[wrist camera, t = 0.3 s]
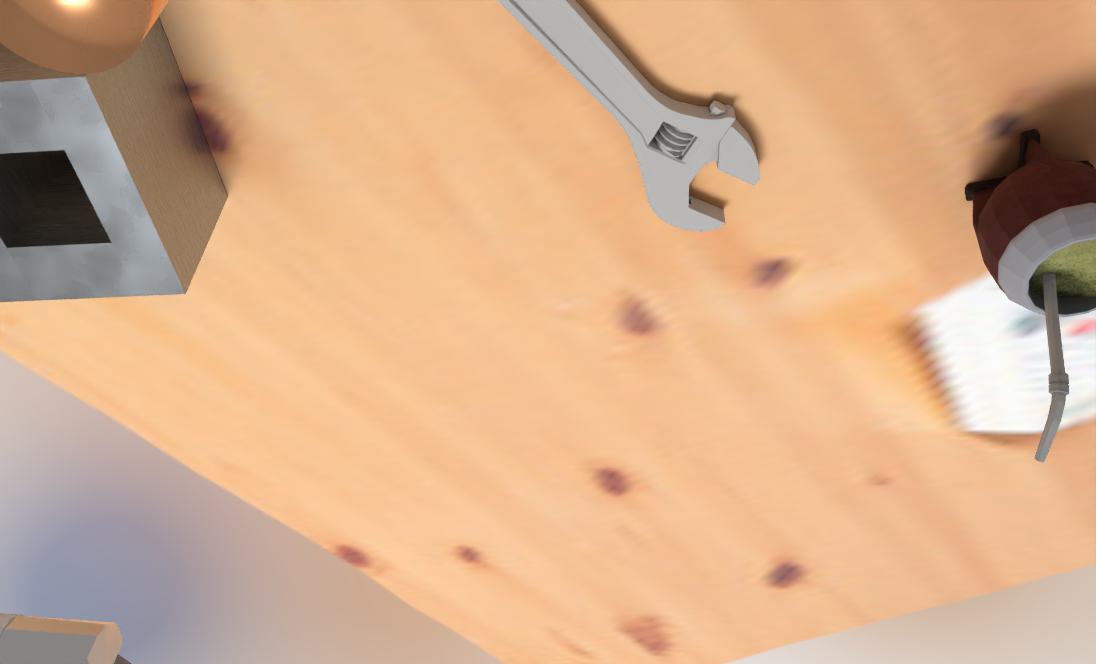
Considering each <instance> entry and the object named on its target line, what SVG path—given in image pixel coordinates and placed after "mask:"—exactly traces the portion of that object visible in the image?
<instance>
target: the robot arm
mask: <svg viewBox="0 0 1096 664" xmlns="http://www.w3.org/2000/svg"><path fill="white" fill-rule="evenodd" d="M122 643H123V638H122V635H121V633H120V631H119V628H118V625H117V623H111V622H110V623H109V622H97V621H84V620H70V619H56V618H43V617H30V616H24V615H16V614H0V664H131V663H130V662H128V661H127V660H125V659H124V658H123V657H121V656H120V655H119V654H118V652H119V650H120V647H121V645H122Z"/></svg>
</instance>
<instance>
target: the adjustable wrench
mask: <svg viewBox="0 0 1096 664" xmlns="http://www.w3.org/2000/svg"><path fill="white" fill-rule="evenodd" d="M497 1H498V2H499V3H500V4H501V5H502V6H503V7H504V8H505V9H506V10H507V11H508V12H509V13H510V14H511V15H512V16H513V17H514V18H515V19H516V20H517V21H518V22H519V23H520V24H521V25H522V26H523V27H524V28H525V29H526V30H527V31H528V32H529V33H530V34H531V35H532V36H533V37H534V38H535V39H536V40H537V41H538V42H539V43H540V44H541V45H542V46H543V47H544V48H545V49H546V50H547V51H548V52H549V53H550V54H551V55H552V56H553V57H554V58H555V59H556V60H557V61H558V62H559V63H560V64H561V65H562V66H563V67H564V68H565V69H566V70H567V71H568V72H569V73H570V74H571V75H572V76H573V77H574V78H575V79H576V80H577V81H578V82H579V83H580V84H581V85H582V86H583V87H584V88H585V89H586V90H587V91H588V92H589V93H590V94H591V95H592V96H593V97H594V98H595V99H596V100H597V101H598V102H599V103H600V104H601V105H602V106H603V107H604V108H605V109H606V110H607V111H608V112H609V113H610V114H611V115H612V116H613V117H614V118H615V119H616V120H617V121H618V123H619V124H620V125H621V126H622V127H623V129H624V130H625V132H626V134H627V136H628V138H629V140H630V142H631V144H632V147H633V149H634V152H635V155H636V157H637V160H638V163H639V166H640V170H641V173H642V177H643V182H644V186H645V191H646V195H647V200H648V202H649V205H650V207H651V208H652V210H653V211H654V212H655V213H656V215H657V216H658V217H659V218H661V219H662V220H663V221H665V222H667V223H668V224H670V225H672V226H674V227H677V228H681V229H684V230H692V231H708V230H715V229H718V228H720V227H722V226H723V225H724V224H725V218H724V211H723V209H721V208H719V207H716V206H714V205H711V204H709V203H707V202H704V201H702V200H699V199H697V198H695V197H692V196H690V195H689V184H690V182H691V181H692V180H693V178H694V177H695V176H696V174H697V173H698V172H699V170H700V169H701V167H702V166H703V165H706V164H708V163H711V162H713V161H716V162H717V169H718V170H720V171H722V172H725V173H727V174H729V175H732V176H734V177H736V178H739V179H741V180H743V181H745V182H748V183H750V184H752V185H756V183H757V182H758V181H759V180H760V170H759V165H758V160H757V156H756V151H755V147H754V144H753V142H752V140H751V138H750V136H749V134H748V133H747V131H746V130H745V129H744V128H743V126H742V125H741V124H740V123H739V122H738V121H737V120H736V117H735V112H734V107H733V106H731V105H727V104H726V105H723V104H722V103H720V102H719V101H715V100H714V101H713V102H712V104H711V105H710V107H703V106H698V105H693V104H689V103H684V102H680V101H677V100H674V99H672V98H669V97H667V96H666V95H664V94H663V93H661V92H660V91H658V90H657V89H656V88H655V87H653V86H652V85H651V84H650V83H649V82H648V81H647V80H646V79H645V78H644V77H643V75H642V74H641V73H640V72H639V71H638V70H637V69H636V68H635V66H634V65H633V64H632V63H631V62H630V61H629V60H628V59H627V57H626V56H625V55H624V54H623V53H622V52H621V51H620V50H619V48H618V47H617V46H616V45H615V44H614V43H613V42H612V41H611V39H610V38H609V37H608V36H607V35H606V34H605V33H604V32H603V30H602V29H601V28H600V27H599V26H598V25H597V24H596V23H595V21H594V20H593V19H592V18H591V17H590V16H589V15H588V14H587V12H586V11H585V10H584V9H583V8H582V7H581V6H580V5H579V3H578V2H577V1H576V0H497ZM662 123H663V125H661V124H662ZM658 130H659V131H658ZM654 135H655V137H654Z"/></svg>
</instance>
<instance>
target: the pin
mask: <svg viewBox="0 0 1096 664" xmlns="http://www.w3.org/2000/svg"><path fill="white" fill-rule="evenodd" d="M168 2H169V0H0V43H1V44H2V45H4V46H5V47H7V48H8V49H10V50H11V51H13V52H14V53H16V54H17V55H19V56H21V57H23V58H25V59H26V60H28V61H31V62H33V63H35V64H38V65H40V66H43V67H46V68H49V69H52V70H56V71H60V72H65V73H74V74H91V73H99V72H103V71H106V70H110V69H112V68H114V67H116V66H118V65H120V64H122V63H123V62H125V61H126V60H127V59H128V58H129V57H130V56H131V55H132V54H133V53H134V52H135V51H136V49H137V48H138V47H139V45H140V44H141V42H142V41H143V39H144V38H145V36H146V35H147V33H148V32H149V30H150V29H151V27H152V26H153V24H154V23H155V21H156V20H157V18H158V17H159V15H160V14H161V12H162V11H163V9H164V8H165V6H166V5H167V3H168Z"/></svg>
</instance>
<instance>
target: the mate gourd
mask: <svg viewBox="0 0 1096 664" xmlns="http://www.w3.org/2000/svg"><path fill="white" fill-rule="evenodd" d="M965 195H966V200H967V201H971V200H973V226H974V229H975V233H976V236H977V239H978V243H979V246H980V250H981V254H982V257H983V261H984V263H985V265H986V267H987V269H988V270H989V272H990V274H991V275H992V277H993V278H994V280H995V281H996V283H997V284H998V286H999V288H1000V289H1001V290H1002V291H1003V292H1004V293H1005V294H1006V295H1007V297H1008V299H1010V300H1011V301H1013V302H1015V303H1017V304H1019V305H1021V306H1023V307H1025V308H1027V309H1029V310H1031V311H1034V312H1036V313H1039V314H1043V315H1045V316H1046V326H1047V336H1048V346H1049V355H1050V365H1051V374H1050V375H1049V384H1050V385H1049V393H1051V394H1052V401H1051V406H1050V410H1049V415H1048V419H1047V422H1046V425H1045V428H1044V431H1043V434H1042V437H1041V440H1040V443H1039V446H1038V449H1037V452H1036V455H1035V459H1036V460H1037V461H1040V462H1044V461H1045V458H1046V456H1047V454H1048V451H1049V449H1050V446H1051V444H1052V442H1053V439H1054V437H1055V434H1056V432H1057V429H1058V427H1059V424H1060V422H1061V418H1062V414H1063V410H1064V406H1065V399H1066V395H1068V394H1069V385H1068V384H1069V379H1068V374H1066V373H1065V368H1064V360H1063V351H1062V342H1061V333H1060V324H1059V317H1068V316H1074V315H1079V314H1085V313H1089V312H1091V311H1093V310H1096V169H1094V167H1093V165H1092V164H1090V163H1089V161H1082V162H1073V161H1066V160H1059V159H1054V158H1053V157H1052V156H1051V155H1050V154H1049V153H1048V152H1047V151H1046V150H1045V149H1044V148H1043V147H1042V146H1041V145H1040V133H1039V132H1038V131H1037V130H1029V131H1025V132H1023V133H1022V134H1021V140H1020V156H1019V168H1018V170H1017V171H1015V172H1013V173H1011V174H1010V175H1009V176H1006V177H1002V178H997V179H992V180H987V181H982V182H977V183H973V184H969V185H966V187H965Z"/></svg>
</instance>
